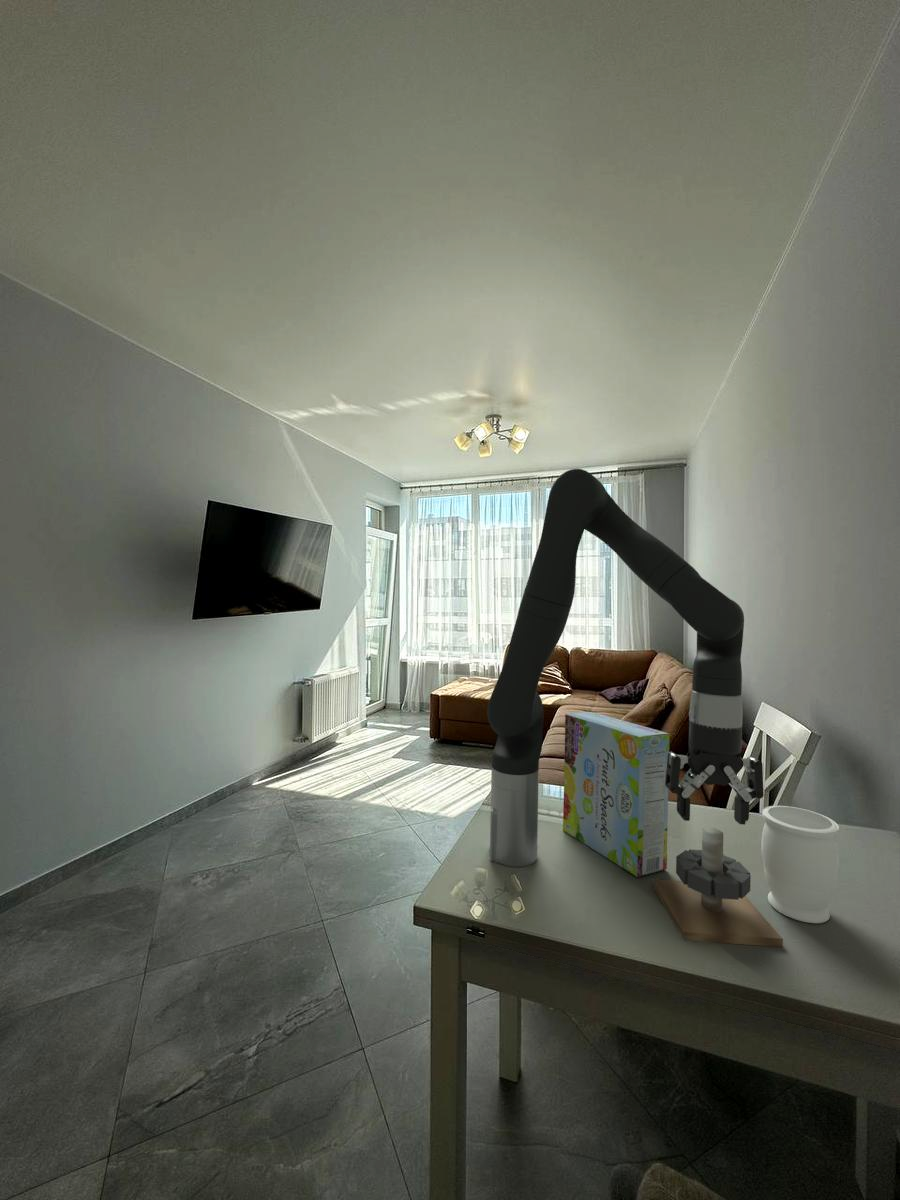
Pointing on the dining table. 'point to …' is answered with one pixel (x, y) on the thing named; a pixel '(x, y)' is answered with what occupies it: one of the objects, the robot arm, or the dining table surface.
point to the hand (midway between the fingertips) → (712, 820)
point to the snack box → (617, 790)
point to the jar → (800, 861)
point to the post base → (715, 923)
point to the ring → (713, 876)
